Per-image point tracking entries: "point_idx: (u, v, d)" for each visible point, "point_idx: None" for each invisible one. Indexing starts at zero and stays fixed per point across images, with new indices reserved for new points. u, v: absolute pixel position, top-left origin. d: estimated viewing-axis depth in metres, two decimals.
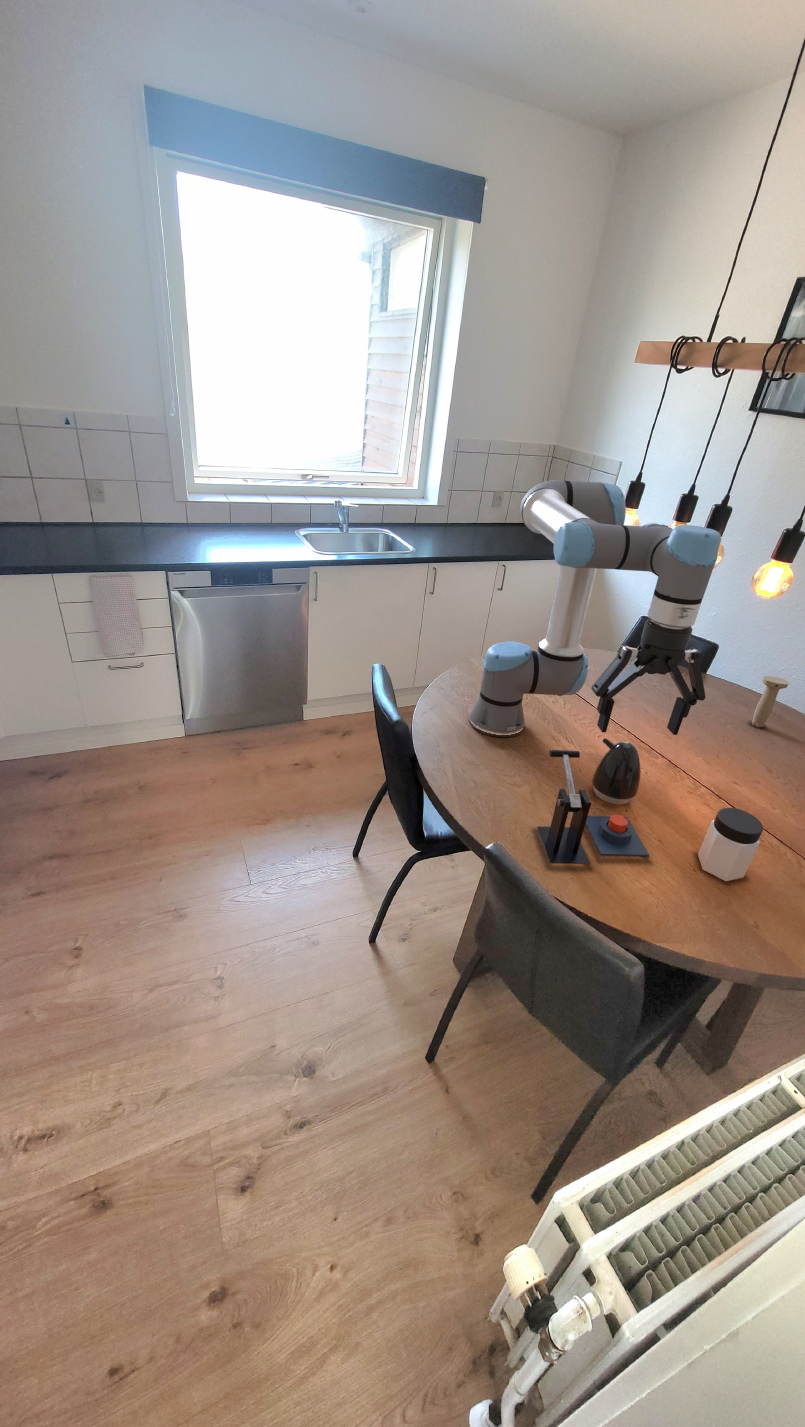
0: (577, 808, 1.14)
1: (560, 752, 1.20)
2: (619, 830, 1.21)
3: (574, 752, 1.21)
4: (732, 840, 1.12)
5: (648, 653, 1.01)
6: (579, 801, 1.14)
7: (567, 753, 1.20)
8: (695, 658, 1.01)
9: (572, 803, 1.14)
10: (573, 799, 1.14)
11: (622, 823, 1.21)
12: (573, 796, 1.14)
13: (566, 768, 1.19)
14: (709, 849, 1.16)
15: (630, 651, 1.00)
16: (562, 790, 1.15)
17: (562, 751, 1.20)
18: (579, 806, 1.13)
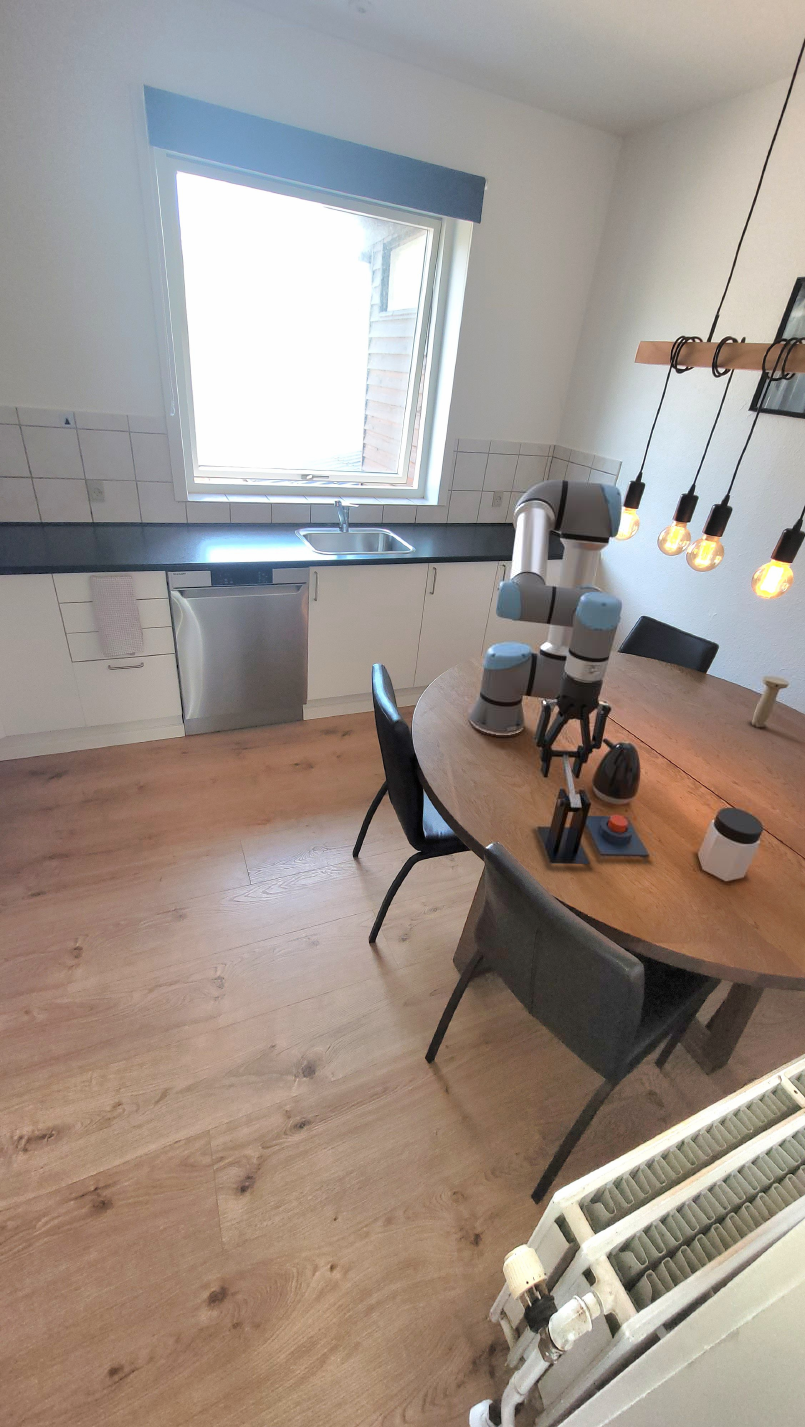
0: (577, 808, 1.14)
1: (560, 752, 1.20)
2: (619, 830, 1.21)
3: (574, 752, 1.21)
4: (732, 840, 1.12)
5: (565, 701, 1.14)
6: (579, 801, 1.14)
7: (567, 753, 1.20)
8: (605, 710, 1.15)
9: (572, 803, 1.14)
10: (573, 799, 1.14)
11: (622, 823, 1.21)
12: (573, 796, 1.14)
13: (566, 768, 1.19)
14: (709, 849, 1.16)
15: (548, 706, 1.14)
16: (562, 790, 1.15)
17: (562, 751, 1.20)
18: (579, 806, 1.13)
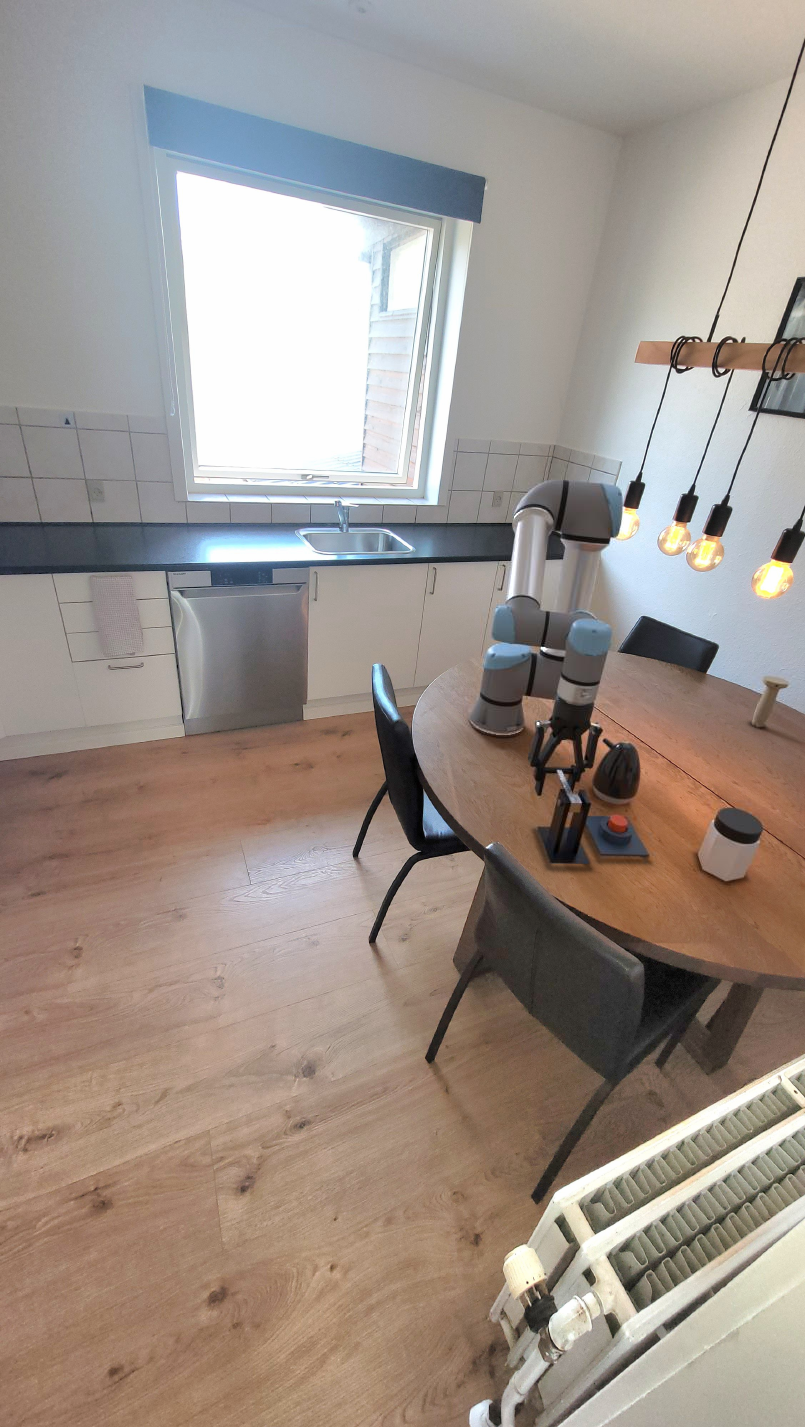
0: (577, 804, 1.13)
1: (554, 767, 1.24)
2: (619, 830, 1.21)
3: (567, 768, 1.24)
4: (732, 840, 1.12)
5: (557, 723, 1.17)
6: (578, 798, 1.14)
7: (560, 768, 1.24)
8: (597, 732, 1.19)
9: (572, 800, 1.14)
10: (572, 797, 1.15)
11: (622, 823, 1.21)
12: (572, 795, 1.15)
13: (561, 778, 1.21)
14: (709, 849, 1.16)
15: (541, 727, 1.17)
16: (562, 790, 1.15)
17: (555, 767, 1.24)
18: (579, 802, 1.13)
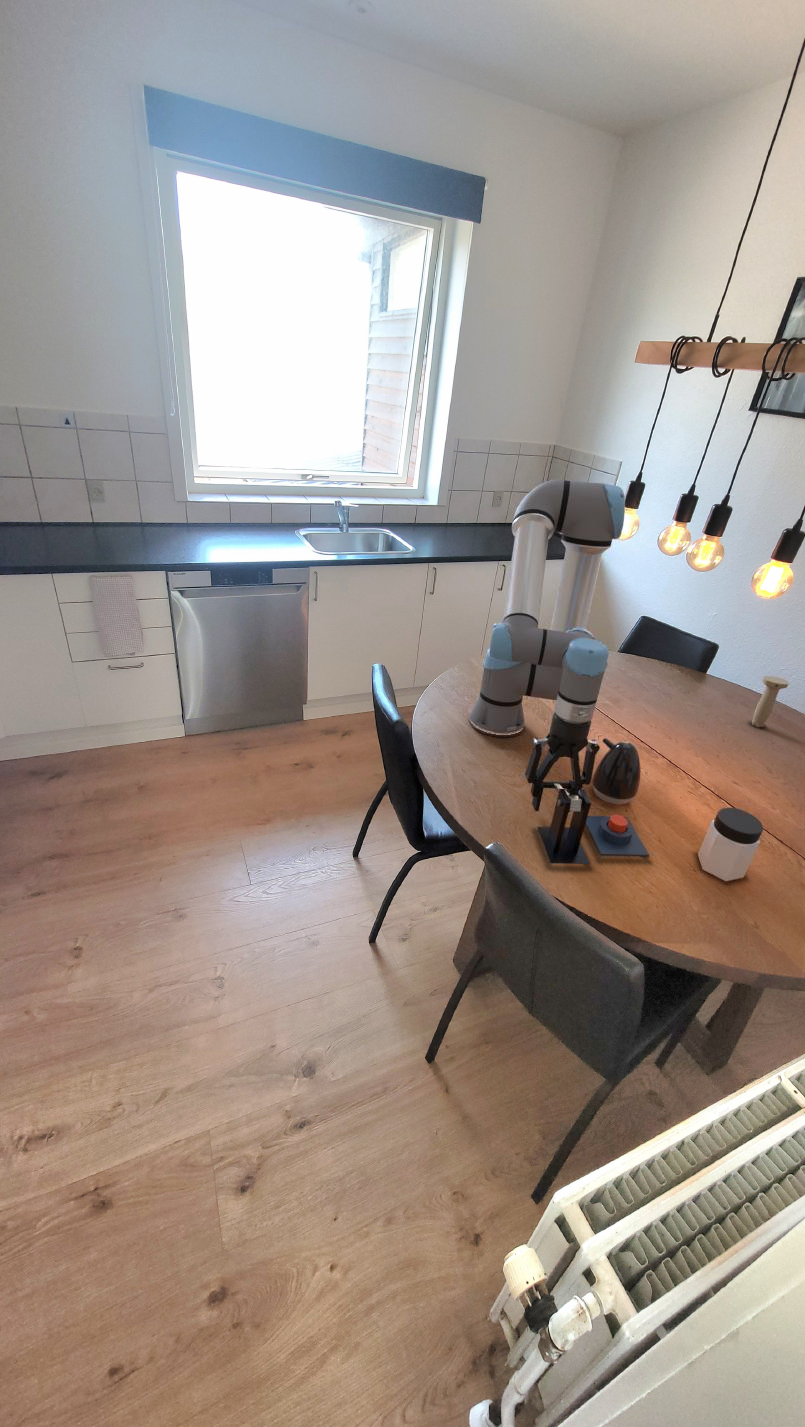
0: (577, 801, 1.13)
1: None
2: (619, 830, 1.21)
3: (564, 782, 1.26)
4: (732, 840, 1.12)
5: (555, 740, 1.18)
6: (578, 797, 1.15)
7: (557, 782, 1.25)
8: (594, 749, 1.20)
9: (571, 798, 1.14)
10: (571, 796, 1.15)
11: (622, 823, 1.21)
12: (571, 795, 1.16)
13: (559, 788, 1.22)
14: (709, 849, 1.16)
15: (538, 744, 1.19)
16: (562, 790, 1.15)
17: None
18: (579, 799, 1.14)
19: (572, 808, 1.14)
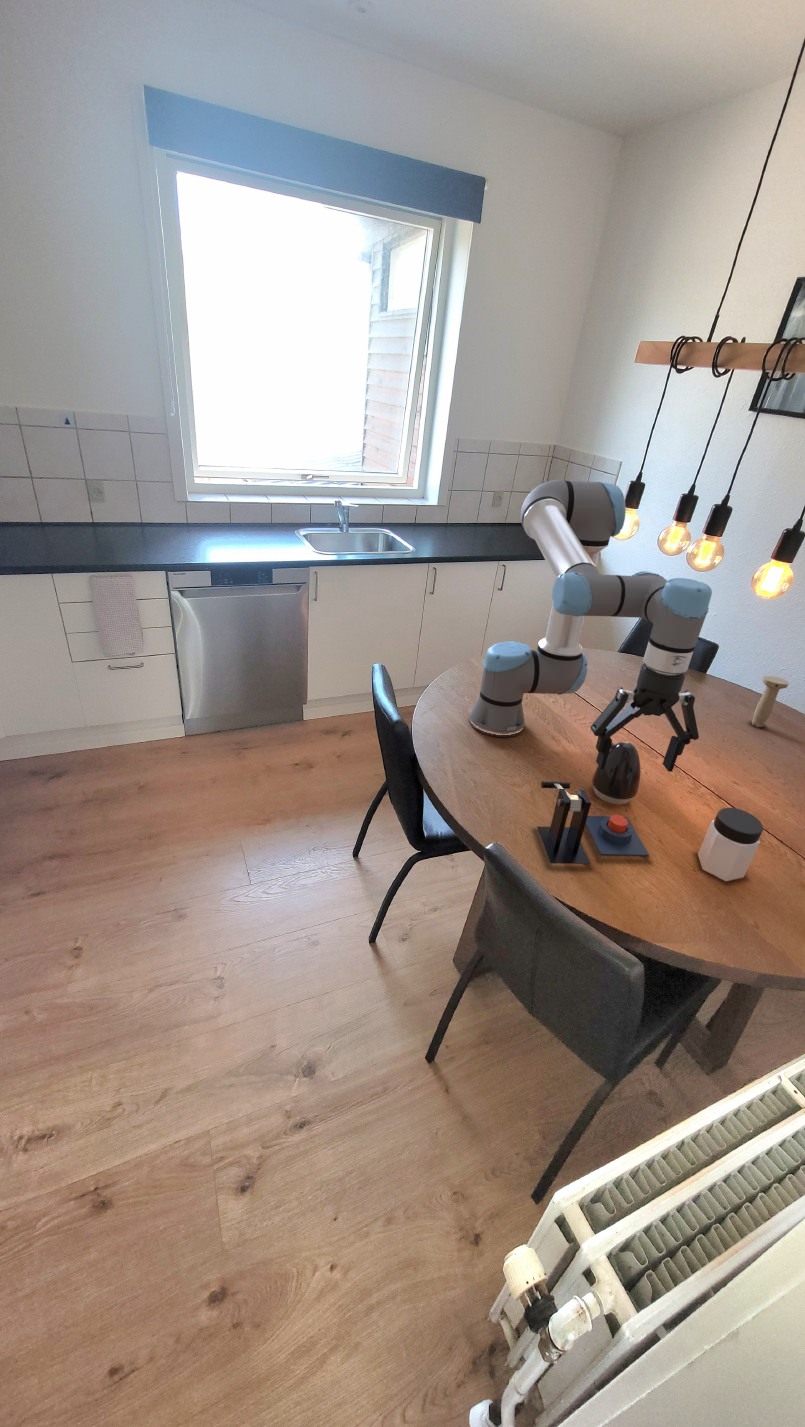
0: (577, 801, 1.13)
1: None
2: (619, 830, 1.21)
3: (564, 782, 1.26)
4: (732, 840, 1.12)
5: (644, 696, 1.06)
6: (578, 797, 1.15)
7: (557, 782, 1.25)
8: (688, 701, 1.07)
9: (571, 798, 1.14)
10: (571, 796, 1.15)
11: (622, 823, 1.21)
12: (571, 795, 1.16)
13: (559, 788, 1.22)
14: (709, 849, 1.16)
15: (626, 694, 1.06)
16: (562, 790, 1.15)
17: None
18: (579, 799, 1.14)
19: (572, 808, 1.14)
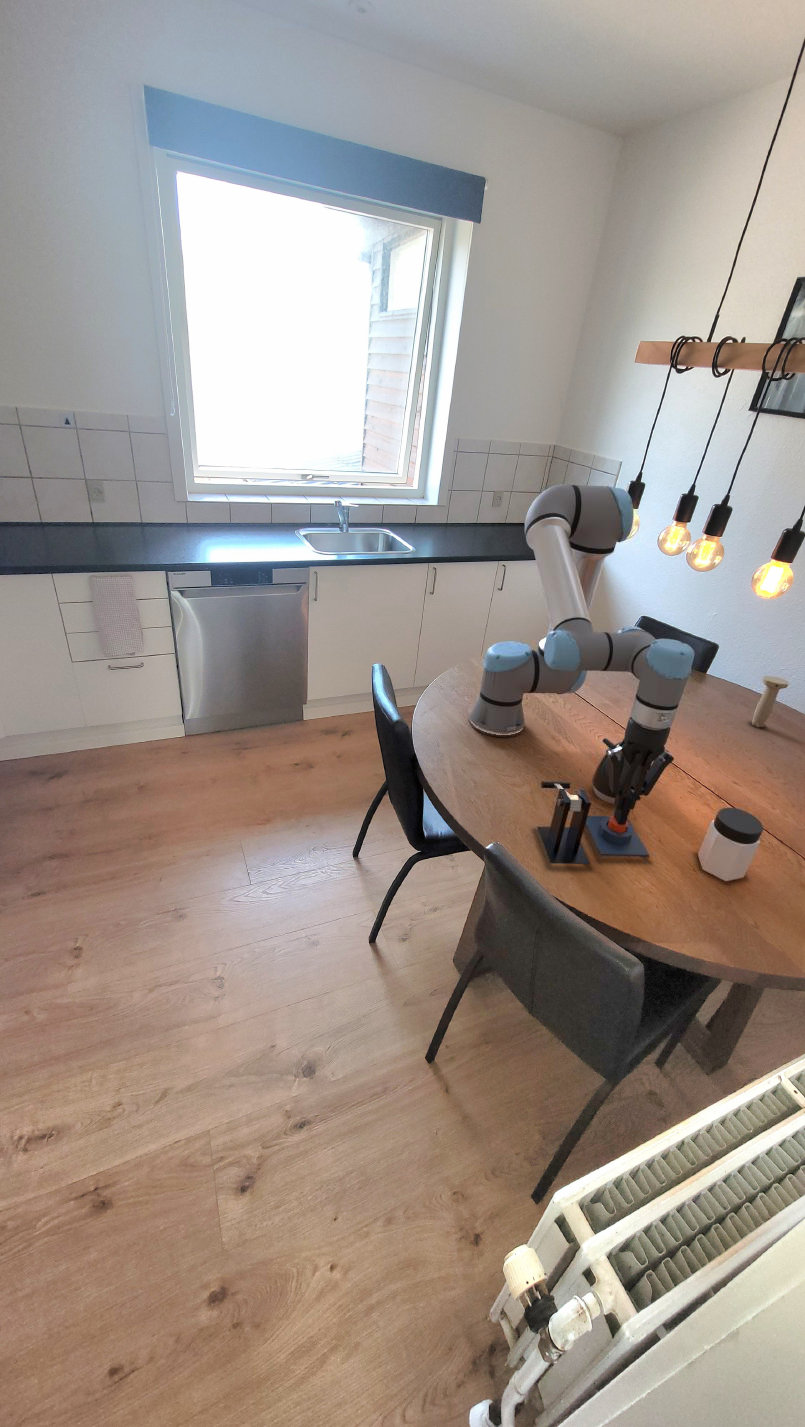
0: (577, 801, 1.13)
1: None
2: (619, 831, 1.21)
3: (564, 782, 1.26)
4: (732, 840, 1.12)
5: (629, 747, 1.11)
6: (578, 797, 1.15)
7: (557, 782, 1.25)
8: (667, 759, 1.13)
9: (571, 798, 1.14)
10: (571, 796, 1.15)
11: (622, 824, 1.21)
12: (571, 795, 1.16)
13: (559, 788, 1.22)
14: (709, 849, 1.16)
15: (613, 756, 1.12)
16: (562, 790, 1.15)
17: None
18: (579, 799, 1.14)
19: (572, 808, 1.14)
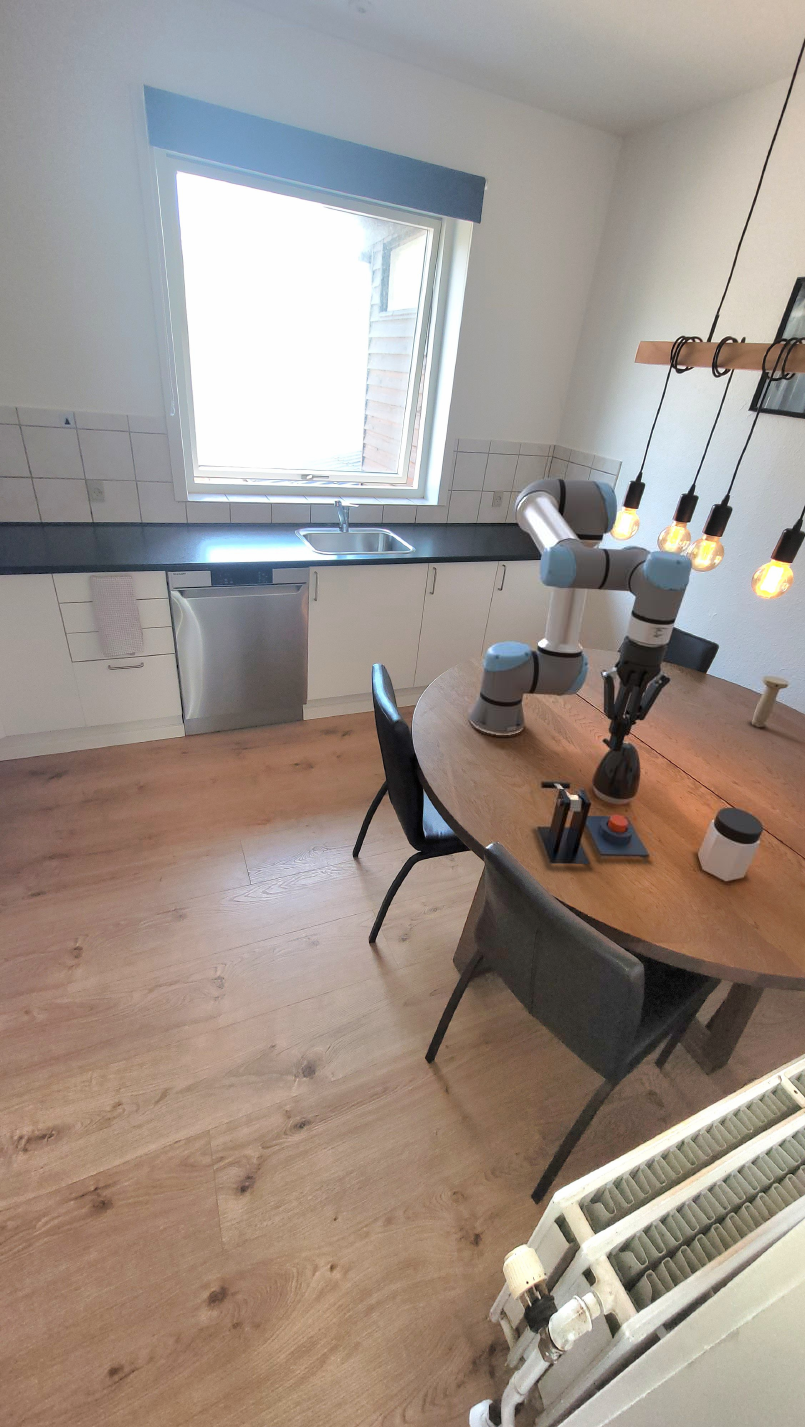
0: (577, 801, 1.13)
1: None
2: (619, 830, 1.21)
3: (564, 782, 1.26)
4: (732, 840, 1.12)
5: (625, 667, 1.08)
6: (578, 797, 1.15)
7: (557, 782, 1.25)
8: (663, 681, 1.10)
9: (571, 798, 1.14)
10: (571, 796, 1.15)
11: (622, 823, 1.21)
12: (571, 795, 1.16)
13: (559, 788, 1.22)
14: (709, 849, 1.16)
15: (608, 676, 1.09)
16: (562, 790, 1.15)
17: None
18: (579, 799, 1.14)
19: (572, 808, 1.14)
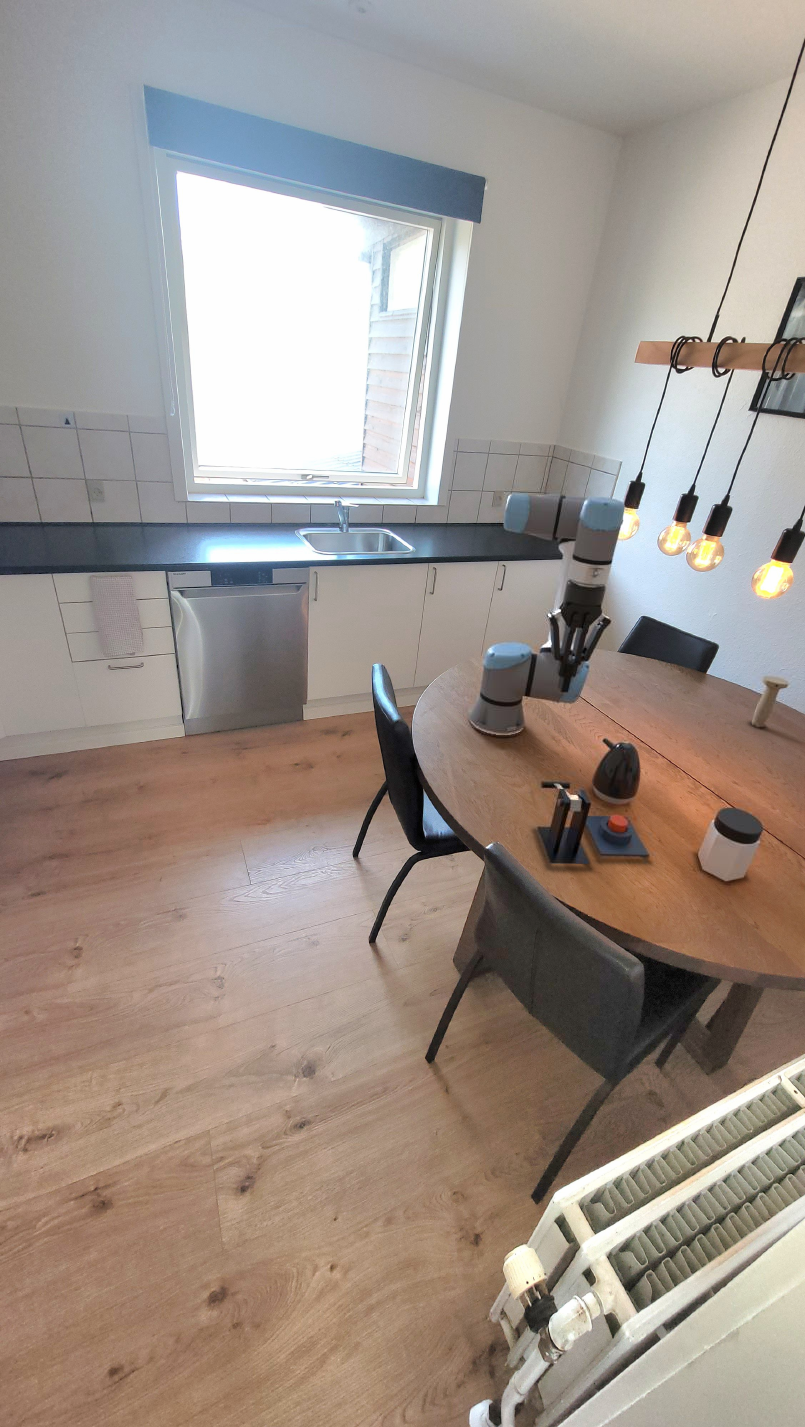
0: (577, 801, 1.13)
1: None
2: (619, 830, 1.21)
3: (564, 782, 1.26)
4: (732, 840, 1.12)
5: (568, 608, 1.16)
6: (578, 797, 1.15)
7: (557, 782, 1.25)
8: (605, 622, 1.18)
9: (571, 798, 1.14)
10: (571, 796, 1.15)
11: (622, 823, 1.21)
12: (571, 795, 1.16)
13: (559, 788, 1.22)
14: (709, 849, 1.16)
15: (552, 617, 1.17)
16: (562, 790, 1.15)
17: None
18: (579, 799, 1.14)
19: (572, 808, 1.14)
